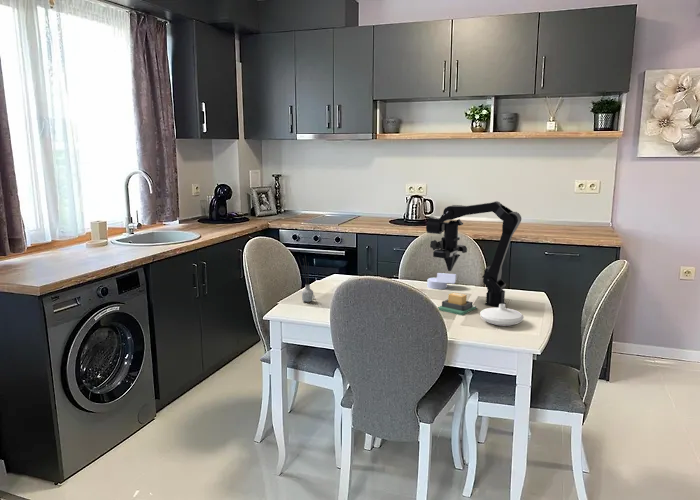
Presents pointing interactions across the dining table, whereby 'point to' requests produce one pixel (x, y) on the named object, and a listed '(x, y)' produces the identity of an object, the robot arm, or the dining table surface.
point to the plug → (457, 298)
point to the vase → (501, 316)
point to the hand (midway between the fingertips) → (449, 270)
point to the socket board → (457, 307)
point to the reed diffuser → (307, 287)
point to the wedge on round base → (441, 281)
